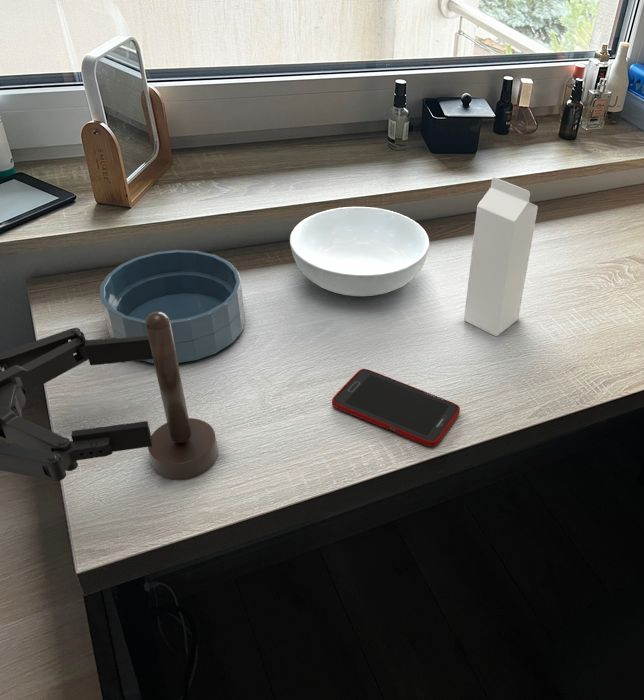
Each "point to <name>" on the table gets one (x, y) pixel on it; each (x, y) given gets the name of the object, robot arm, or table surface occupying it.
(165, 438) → the paper towel holder
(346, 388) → the cell phone
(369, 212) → the serving bowl
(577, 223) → the table surface
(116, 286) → the mixing bowl
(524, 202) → the milk
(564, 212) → the table surface
